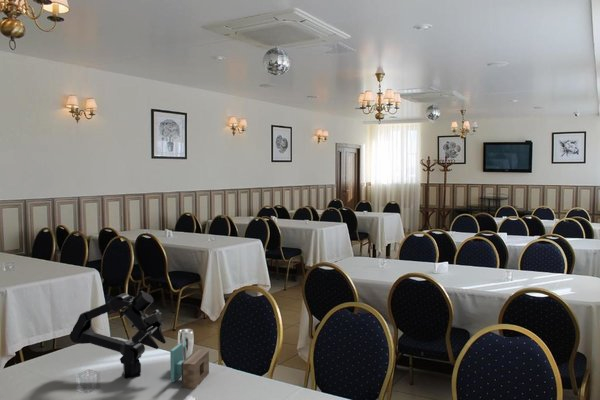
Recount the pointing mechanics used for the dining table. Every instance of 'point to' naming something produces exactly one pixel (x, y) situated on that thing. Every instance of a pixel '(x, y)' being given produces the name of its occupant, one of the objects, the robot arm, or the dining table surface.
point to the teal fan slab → (176, 361)
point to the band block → (195, 368)
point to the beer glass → (186, 341)
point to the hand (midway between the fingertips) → (161, 345)
